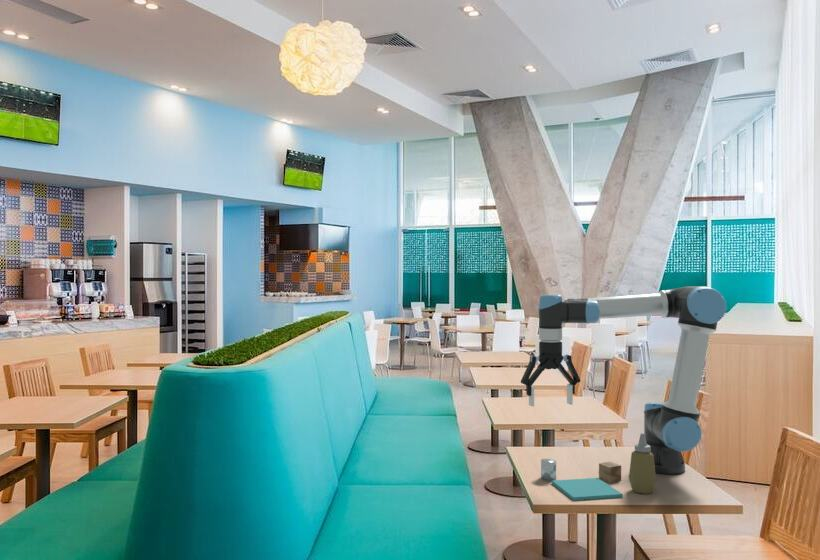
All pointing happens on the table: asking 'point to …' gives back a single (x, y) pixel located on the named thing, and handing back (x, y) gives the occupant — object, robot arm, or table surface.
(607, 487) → the teal mat
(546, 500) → the table surface
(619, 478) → the walnut block
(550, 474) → the grey metal tin
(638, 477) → the squeeze bottle
